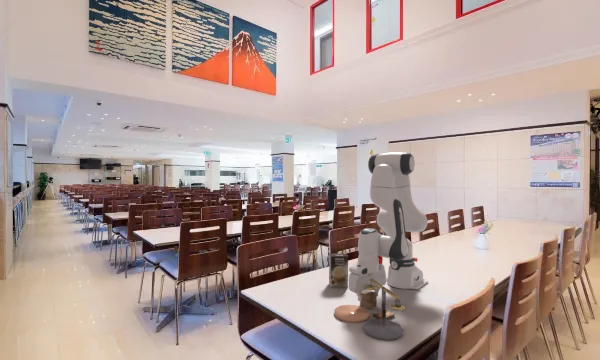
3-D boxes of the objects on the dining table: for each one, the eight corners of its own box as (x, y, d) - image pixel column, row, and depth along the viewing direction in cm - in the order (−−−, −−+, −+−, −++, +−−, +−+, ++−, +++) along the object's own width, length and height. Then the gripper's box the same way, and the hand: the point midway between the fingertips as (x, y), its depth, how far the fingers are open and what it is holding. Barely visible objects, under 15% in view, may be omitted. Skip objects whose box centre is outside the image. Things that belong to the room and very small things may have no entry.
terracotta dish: (351, 304, 134) (351, 302, 134) (376, 316, 122) (376, 313, 122) (327, 312, 126) (327, 310, 126) (351, 326, 114) (351, 322, 114)
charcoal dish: (380, 318, 121) (380, 315, 121) (411, 332, 109) (411, 329, 109) (355, 328, 113) (355, 325, 113) (385, 344, 101) (385, 341, 101)
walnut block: (367, 303, 136) (367, 289, 136) (376, 306, 132) (376, 292, 132) (360, 305, 133) (360, 291, 133) (368, 309, 129) (368, 295, 129)
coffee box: (330, 287, 155) (330, 256, 155) (328, 283, 162) (328, 253, 162) (348, 287, 156) (348, 256, 156) (346, 283, 162) (345, 253, 162)
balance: (372, 307, 131) (372, 275, 131) (409, 323, 116) (409, 287, 116) (360, 311, 127) (360, 278, 127) (397, 328, 112) (397, 291, 112)
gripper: (378, 261, 141) (378, 291, 141) (346, 268, 129) (346, 301, 129) (389, 264, 136) (389, 295, 135) (357, 271, 124) (357, 306, 124)
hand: (368, 298), depth 132 cm, fingers open, 8 cm apart
